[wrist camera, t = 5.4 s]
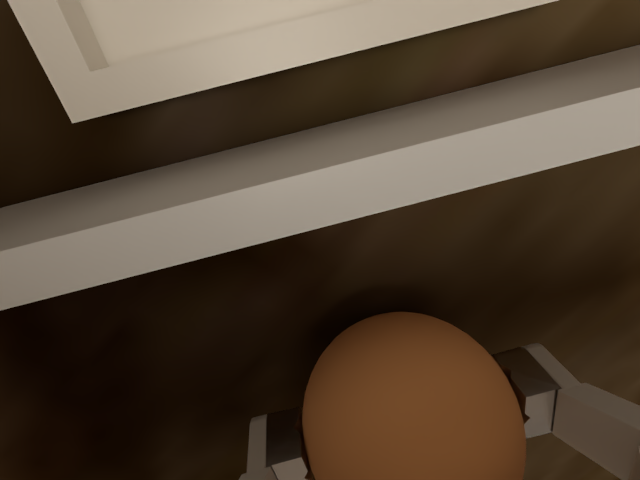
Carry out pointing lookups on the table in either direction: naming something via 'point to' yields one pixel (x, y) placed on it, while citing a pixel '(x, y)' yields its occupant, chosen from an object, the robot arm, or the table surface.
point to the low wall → (318, 177)
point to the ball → (411, 406)
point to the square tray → (213, 41)
